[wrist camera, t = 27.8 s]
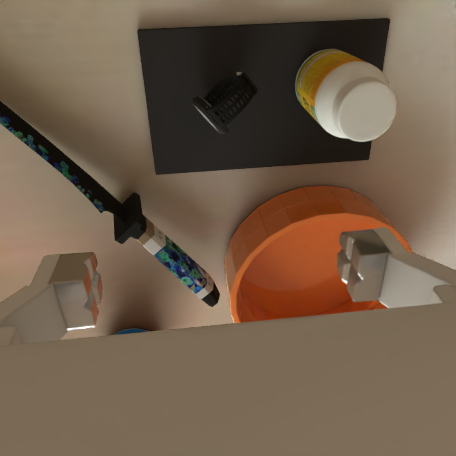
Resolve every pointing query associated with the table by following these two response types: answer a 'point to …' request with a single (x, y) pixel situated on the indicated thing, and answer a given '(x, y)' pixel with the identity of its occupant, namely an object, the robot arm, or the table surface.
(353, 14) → the table surface
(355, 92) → the supplement bottle
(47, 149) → the knife
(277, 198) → the bowl
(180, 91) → the mat
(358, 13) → the table surface
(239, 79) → the smartwatch
